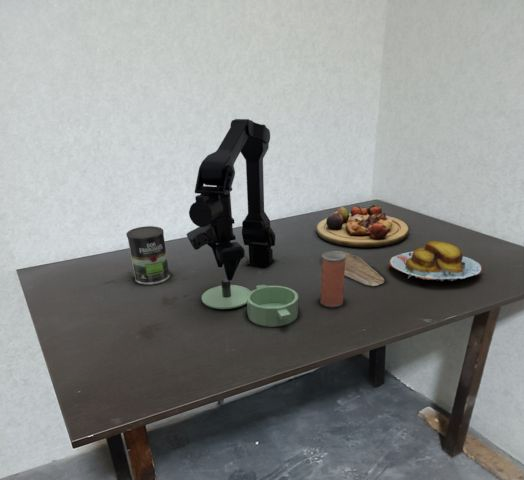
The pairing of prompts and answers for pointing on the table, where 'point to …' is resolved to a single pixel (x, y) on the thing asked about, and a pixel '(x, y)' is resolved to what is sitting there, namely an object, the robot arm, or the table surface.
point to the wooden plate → (362, 228)
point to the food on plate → (436, 262)
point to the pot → (272, 305)
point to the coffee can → (148, 255)
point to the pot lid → (225, 296)
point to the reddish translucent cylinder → (332, 279)
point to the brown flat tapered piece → (361, 271)
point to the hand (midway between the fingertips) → (224, 273)
